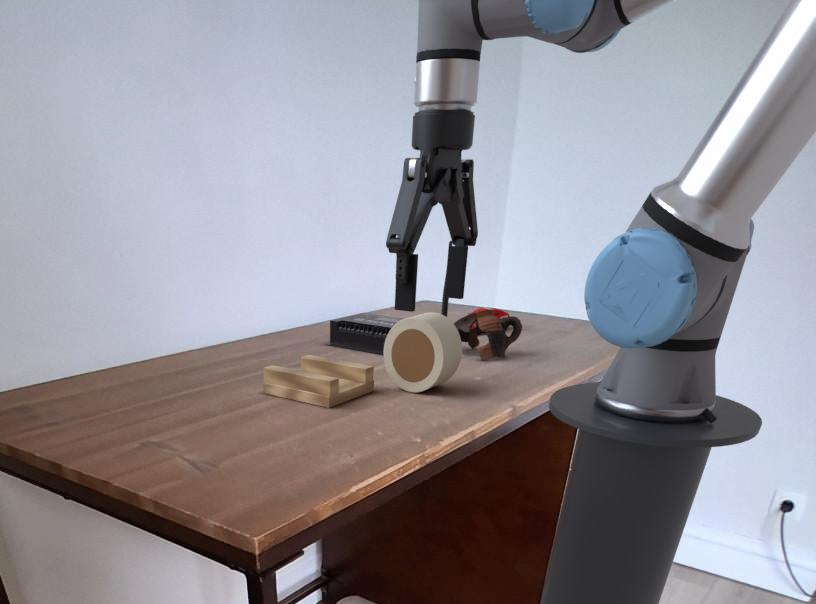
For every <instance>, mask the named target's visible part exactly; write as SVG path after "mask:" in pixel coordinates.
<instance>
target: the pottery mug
mask: <svg viewBox="0 0 816 604" xmlns="http://www.w3.org/2000/svg"><path fill="white" fill-rule="evenodd" d="M471 313H472V312H471ZM471 313H470V314H469V315H468V314H467V315H464V316H463V317H461V318H459V319H458V320H456V321H455V322H453V324H454V325H455V327H456V328H457V330H458V332H459V335H460V338H461V343H462V342H463V343H467V344H468V346H469V348H470V349H472V350H473V349H475V348H477V347H478V349H477V350H478V353H479V358H480V361H486V360H489V359H492V358H496V357H498V358H501V357H502V358H505V357H506V351H507V349H508V348H509V346H511V344H513V343H515V342H517V340H518V339H519V337H520V336H521V334H522V331H523V324H522V323H521V322H522V321H521V320H520V319H519V317H517V316H511V315H509V317H506V318H503V319H498V318H497V317H495V316H494V313H493V310H492V309H487V310H482V311H478V312H475V313H472V314H471ZM474 323H475V324H476V327H475V328H473V329H471V328H472V326H473V324H474ZM510 326H512V332H511V334H510V335H507V334H506V332H507V329H508V328H509V327H510ZM479 331H483V332H482V333H486V336H487V339H488V343H486V344H483V345H481V346H479V345H480V340H479V338H478V336H479V335H477V333H478V332H479Z"/></svg>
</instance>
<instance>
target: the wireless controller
mask: <svg viewBox="0 0 816 604" xmlns="http://www.w3.org/2000/svg"><path fill="white" fill-rule="evenodd" d="M449 246H453V243H452V240H449V241H448V247H449ZM446 272H447V269H446V271H445V273H446ZM445 284H446V276H445V278H444V284H443V291H442V297H441V298H442V299H441V311H440V314H442V315H444V316H446V317H447V318H448V311H449V302H450V298H445ZM403 319H404V318H403V317H395V316H387V315H381V314H373V313H367V312H361V313H357V314H351V315H348V316H343V317H340V318H335V319H330V320H329V342H327V343H325V345H326V346H332V347H336V348H342V349H348V350H352V351H360V352H365V353H370V354H376V355H380V356H381V355H382V356H384V354H383V352H384V344H385V340H386V337H387V335H388V333H389V331H390V330H391V328H392V327H393V326H394V325H395V324H396V323H398V322H399V321H401V320H403Z"/></svg>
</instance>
